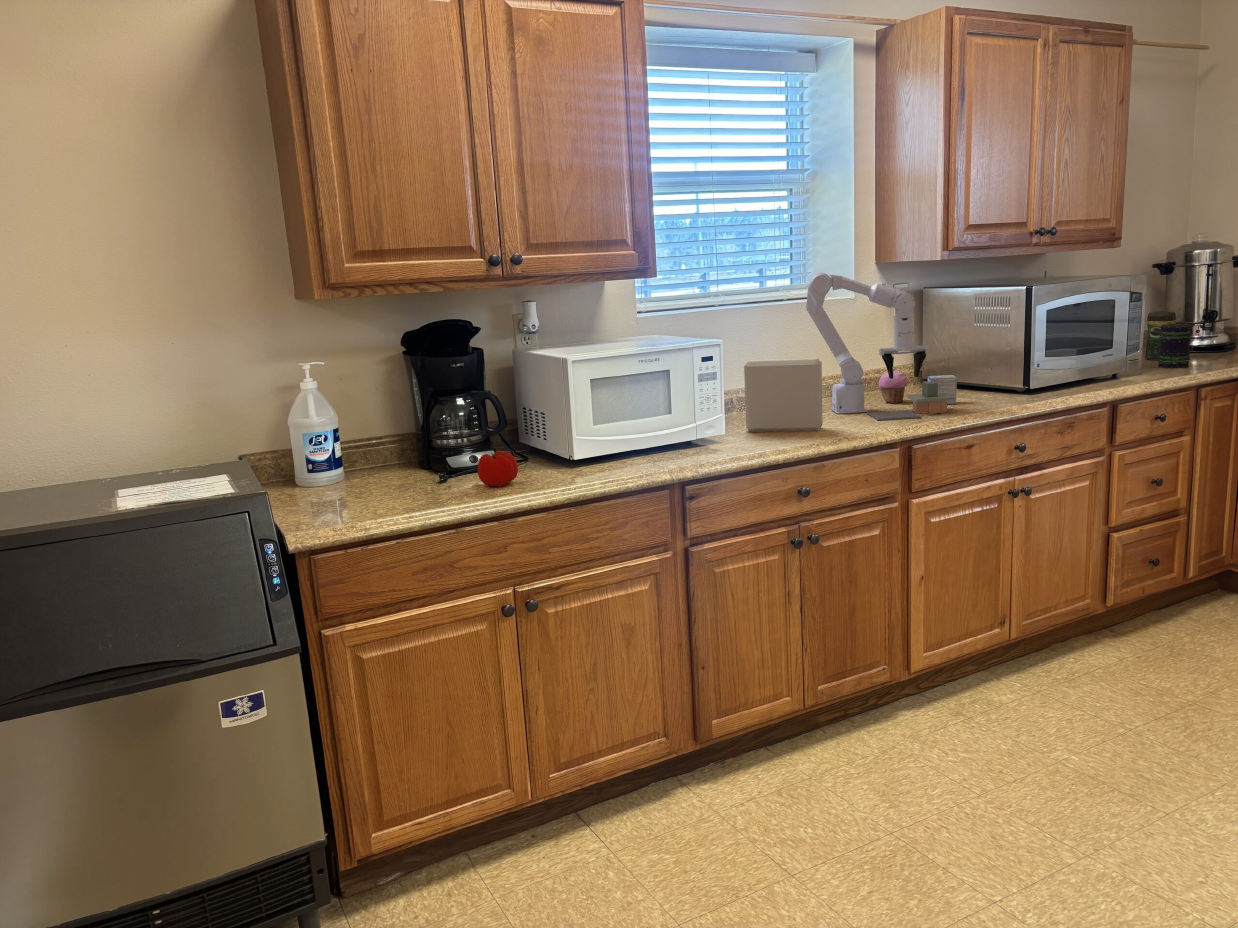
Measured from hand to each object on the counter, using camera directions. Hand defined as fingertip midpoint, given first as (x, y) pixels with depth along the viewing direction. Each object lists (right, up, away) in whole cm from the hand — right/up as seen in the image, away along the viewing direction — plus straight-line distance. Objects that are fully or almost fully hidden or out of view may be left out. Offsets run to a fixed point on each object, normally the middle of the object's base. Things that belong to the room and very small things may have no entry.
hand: (903, 377), depth 274 cm
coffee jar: (+124, +14, +77) cm, 147 cm away
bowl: (+7, -11, -4) cm, 13 cm away
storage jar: (+116, +9, +55) cm, 129 cm away
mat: (-6, -12, -8) cm, 15 cm away
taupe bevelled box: (-40, -17, -17) cm, 46 cm away
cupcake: (+2, -7, +17) cm, 18 cm away
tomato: (-115, -31, -62) cm, 134 cm away
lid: (+6, -7, -5) cm, 10 cm away
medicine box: (+15, -8, +9) cm, 19 cm away
